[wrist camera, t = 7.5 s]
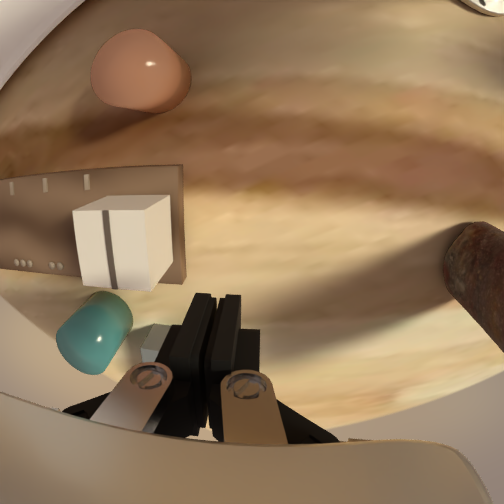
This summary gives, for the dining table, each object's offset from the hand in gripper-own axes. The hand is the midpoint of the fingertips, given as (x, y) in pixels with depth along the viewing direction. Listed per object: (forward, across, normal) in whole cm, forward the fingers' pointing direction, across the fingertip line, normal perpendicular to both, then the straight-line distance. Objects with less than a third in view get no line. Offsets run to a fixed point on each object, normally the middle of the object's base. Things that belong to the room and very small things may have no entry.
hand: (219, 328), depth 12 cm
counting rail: (+13, +15, -1) cm, 20 cm away
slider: (+12, +8, -1) cm, 14 cm away
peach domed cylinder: (+13, +6, -12) cm, 19 cm away
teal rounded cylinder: (+14, +12, +8) cm, 20 cm away
